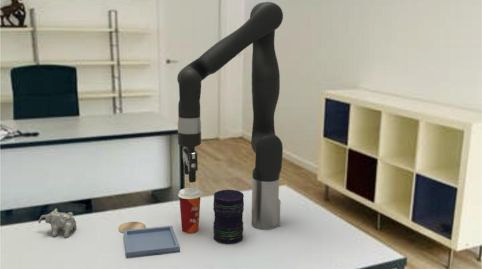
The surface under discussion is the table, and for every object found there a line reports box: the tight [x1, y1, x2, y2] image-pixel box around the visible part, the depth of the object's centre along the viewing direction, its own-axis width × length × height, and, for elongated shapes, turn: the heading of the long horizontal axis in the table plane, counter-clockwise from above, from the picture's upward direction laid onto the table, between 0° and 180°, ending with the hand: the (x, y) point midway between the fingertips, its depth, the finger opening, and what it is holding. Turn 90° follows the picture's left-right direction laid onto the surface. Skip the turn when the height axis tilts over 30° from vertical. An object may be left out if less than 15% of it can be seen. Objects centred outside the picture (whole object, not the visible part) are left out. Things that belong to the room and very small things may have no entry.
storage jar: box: [212, 189, 245, 245], centre depth 156 cm, size 10×10×15 cm
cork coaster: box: [117, 221, 146, 234], centre depth 163 cm, size 9×9×1 cm
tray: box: [123, 225, 181, 259], centre depth 152 cm, size 16×16×2 cm
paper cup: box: [178, 187, 202, 234], centre depth 161 cm, size 8×8×14 cm
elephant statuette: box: [37, 207, 77, 239], centre depth 158 cm, size 9×12×8 cm
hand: (189, 178), depth 158 cm, fingers open, 8 cm apart
